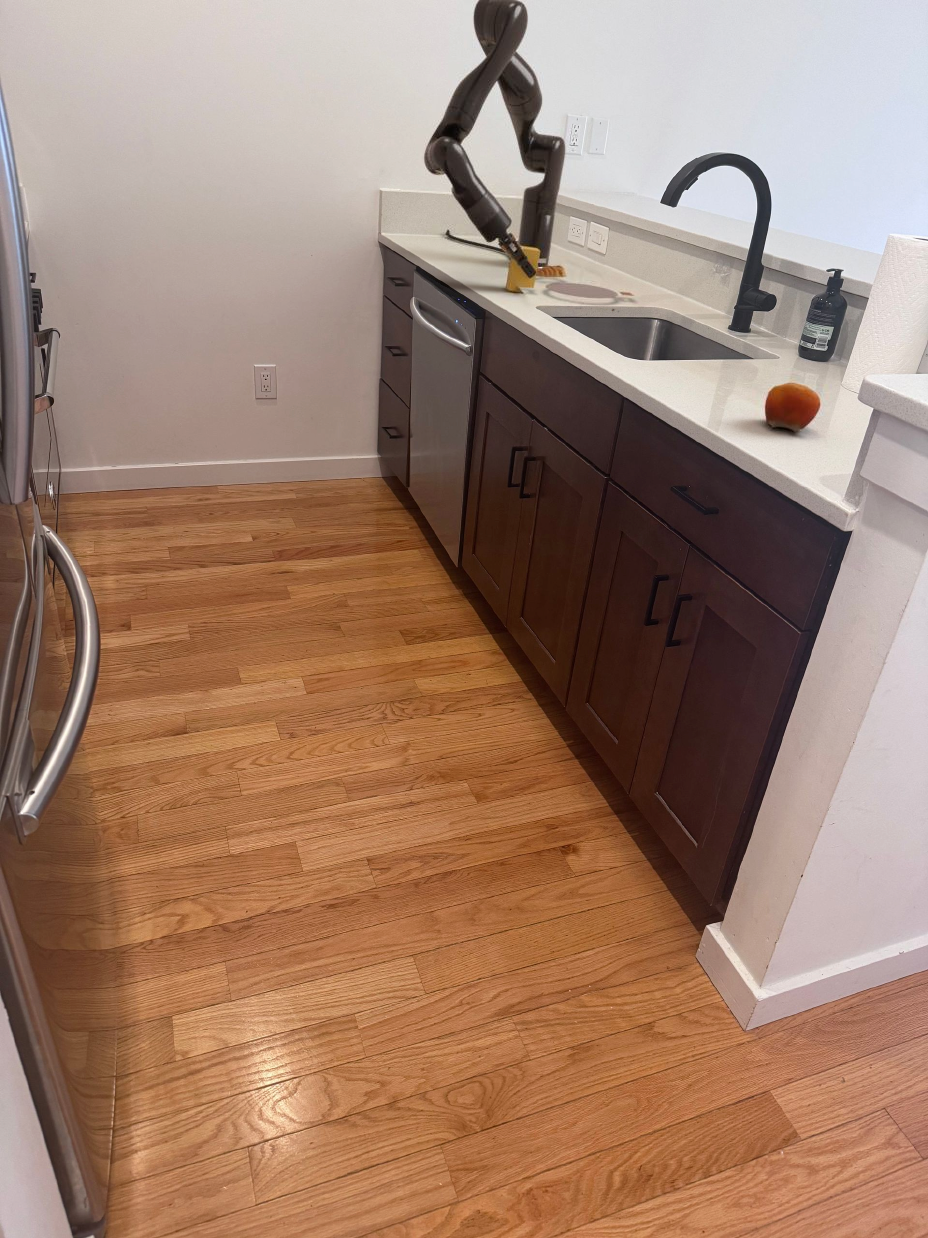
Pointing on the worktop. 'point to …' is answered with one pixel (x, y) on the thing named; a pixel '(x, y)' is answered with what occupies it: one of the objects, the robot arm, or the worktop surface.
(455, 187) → the robot arm
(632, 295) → the orange slab
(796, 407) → the fruit
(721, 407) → the worktop surface
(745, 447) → the worktop surface
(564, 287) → the plate
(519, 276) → the sponge
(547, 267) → the pastry
